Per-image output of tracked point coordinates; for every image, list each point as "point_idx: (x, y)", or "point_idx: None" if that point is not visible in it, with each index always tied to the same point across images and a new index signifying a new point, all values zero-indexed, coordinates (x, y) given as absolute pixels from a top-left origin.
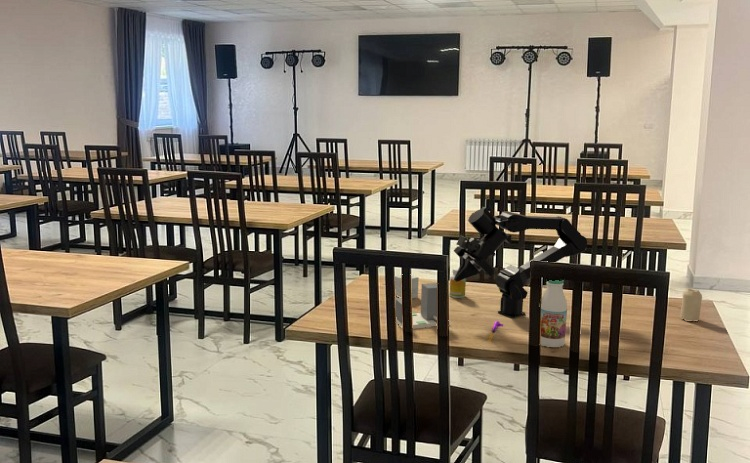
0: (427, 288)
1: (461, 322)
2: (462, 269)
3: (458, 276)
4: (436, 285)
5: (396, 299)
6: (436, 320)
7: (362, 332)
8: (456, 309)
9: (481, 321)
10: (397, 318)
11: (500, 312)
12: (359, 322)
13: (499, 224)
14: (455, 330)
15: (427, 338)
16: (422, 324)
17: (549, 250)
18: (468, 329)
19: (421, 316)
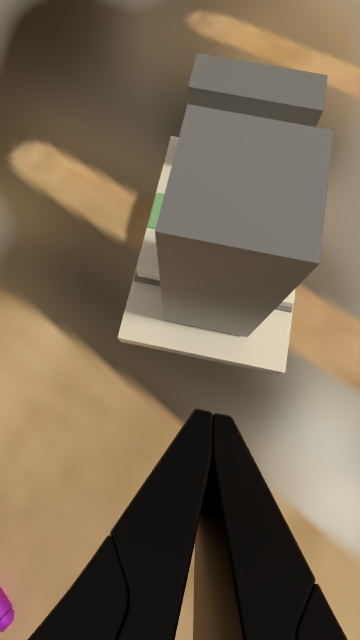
0: (194, 108)
1: (126, 425)
2: (135, 602)
3: (167, 456)
4: (234, 211)
5: (301, 71)
6: (155, 283)
7: (212, 32)
8: (327, 546)
9: (83, 546)
10: None
11: None
12: (312, 64)
13: None
14: (50, 326)
15: (41, 175)
16: (152, 211)
17: None
18: (26, 392)
19: None
